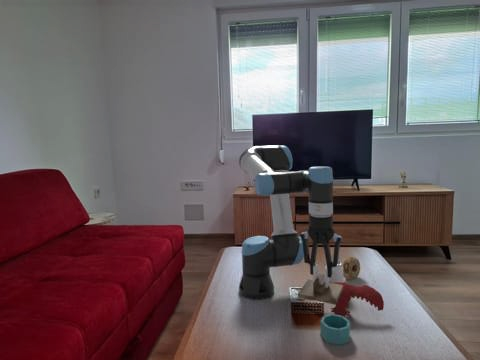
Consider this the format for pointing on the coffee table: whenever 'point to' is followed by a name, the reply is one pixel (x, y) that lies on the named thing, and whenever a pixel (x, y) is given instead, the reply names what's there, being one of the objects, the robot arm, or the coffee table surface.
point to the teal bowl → (335, 329)
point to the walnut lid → (321, 291)
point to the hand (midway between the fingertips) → (321, 284)
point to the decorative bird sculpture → (357, 291)
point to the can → (337, 273)
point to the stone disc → (351, 268)
